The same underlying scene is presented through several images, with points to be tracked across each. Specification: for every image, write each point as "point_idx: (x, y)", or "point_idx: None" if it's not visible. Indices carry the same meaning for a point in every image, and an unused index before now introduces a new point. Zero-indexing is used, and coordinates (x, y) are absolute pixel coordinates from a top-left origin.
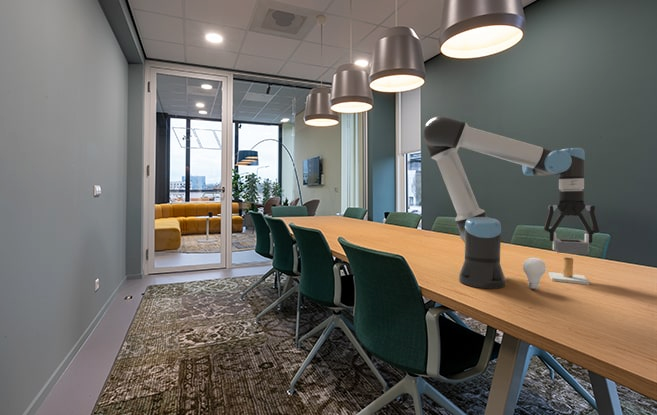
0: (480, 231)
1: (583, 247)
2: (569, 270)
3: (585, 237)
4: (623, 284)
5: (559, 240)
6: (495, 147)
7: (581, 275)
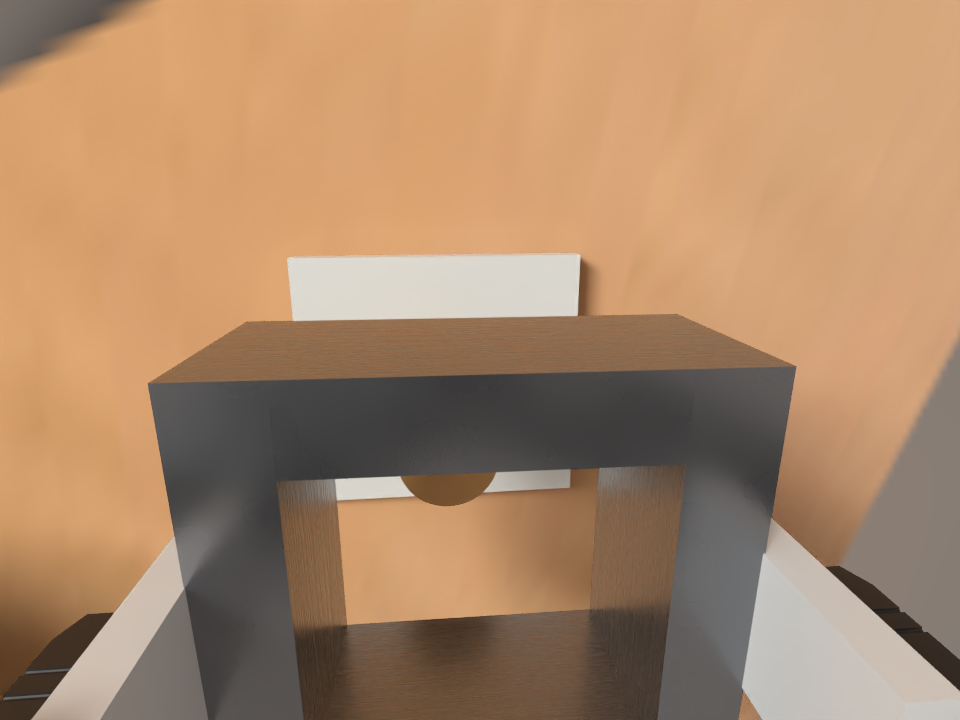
0: None
1: None
2: None
3: (809, 713)
4: (807, 341)
5: (275, 689)
6: None
7: (563, 271)
